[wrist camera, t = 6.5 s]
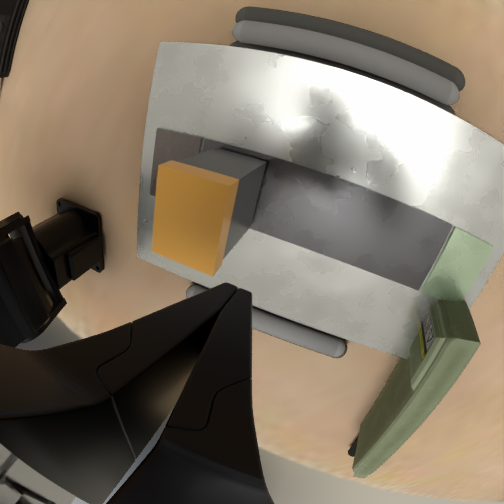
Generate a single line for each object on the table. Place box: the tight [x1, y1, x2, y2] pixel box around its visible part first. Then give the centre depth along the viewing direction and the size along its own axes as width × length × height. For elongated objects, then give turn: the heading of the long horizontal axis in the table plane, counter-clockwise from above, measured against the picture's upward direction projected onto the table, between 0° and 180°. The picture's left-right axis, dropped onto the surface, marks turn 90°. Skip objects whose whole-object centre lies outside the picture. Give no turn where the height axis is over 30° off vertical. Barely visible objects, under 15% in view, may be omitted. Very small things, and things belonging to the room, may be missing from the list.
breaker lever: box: [152, 148, 267, 276], centre depth 14 cm, size 3×4×6 cm
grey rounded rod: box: [186, 284, 347, 358], centre depth 22 cm, size 14×4×3 cm, turn 77°
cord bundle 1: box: [230, 7, 465, 115], centre depth 12 cm, size 14×4×3 cm, turn 77°
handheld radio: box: [348, 300, 480, 478], centre depth 21 cm, size 7×3×25 cm
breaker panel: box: [137, 42, 504, 360], centre depth 17 cm, size 24×16×2 cm, turn 77°
